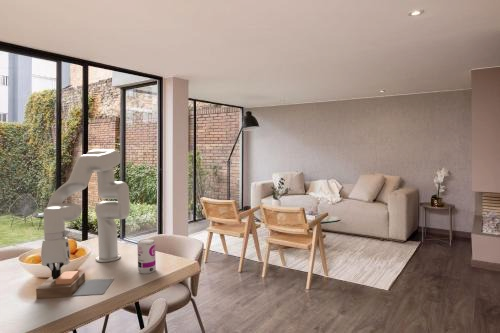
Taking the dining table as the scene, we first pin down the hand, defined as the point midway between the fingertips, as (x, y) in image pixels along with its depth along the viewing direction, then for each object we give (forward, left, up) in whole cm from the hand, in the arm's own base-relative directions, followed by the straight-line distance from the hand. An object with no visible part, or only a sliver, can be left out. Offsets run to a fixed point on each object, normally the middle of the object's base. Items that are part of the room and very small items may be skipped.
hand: (56, 278), depth 140 cm
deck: (0, +2, -5) cm, 5 cm away
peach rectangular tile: (0, +5, -1) cm, 5 cm away
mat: (0, +15, -5) cm, 16 cm away
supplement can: (-16, +35, -5) cm, 39 cm away
